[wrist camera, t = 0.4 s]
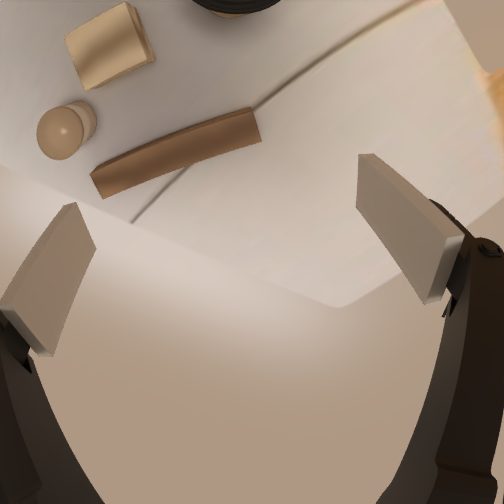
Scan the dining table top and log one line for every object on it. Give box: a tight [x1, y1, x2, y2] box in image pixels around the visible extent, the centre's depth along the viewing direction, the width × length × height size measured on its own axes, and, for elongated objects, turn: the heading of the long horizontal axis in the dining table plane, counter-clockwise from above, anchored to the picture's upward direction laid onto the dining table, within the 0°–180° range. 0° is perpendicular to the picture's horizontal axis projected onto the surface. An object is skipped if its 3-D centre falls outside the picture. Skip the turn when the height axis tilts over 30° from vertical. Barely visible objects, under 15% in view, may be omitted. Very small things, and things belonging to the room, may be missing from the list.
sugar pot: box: [37, 102, 97, 160], centre depth 30 cm, size 7×7×6 cm
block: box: [64, 2, 156, 92], centre depth 26 cm, size 8×8×5 cm
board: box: [90, 107, 262, 199], centre depth 35 cm, size 4×22×3 cm, turn 106°
